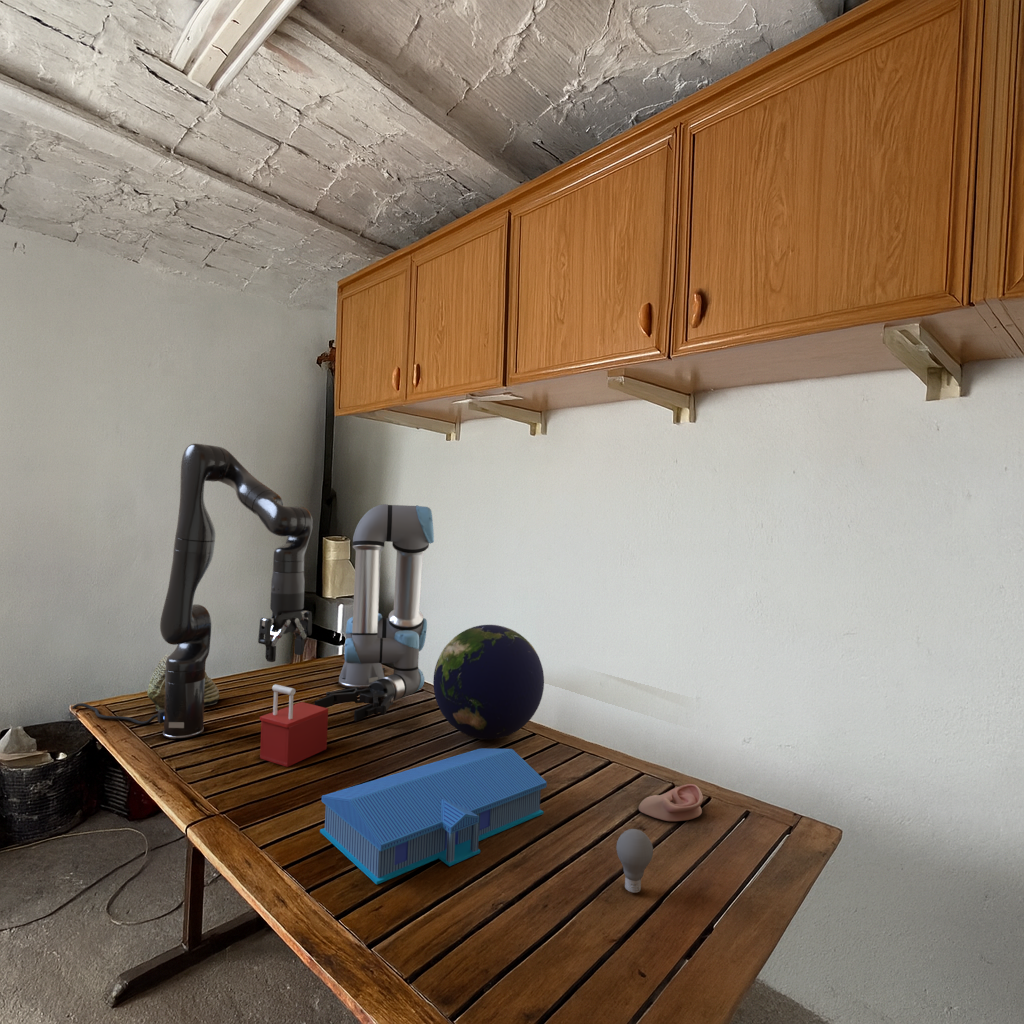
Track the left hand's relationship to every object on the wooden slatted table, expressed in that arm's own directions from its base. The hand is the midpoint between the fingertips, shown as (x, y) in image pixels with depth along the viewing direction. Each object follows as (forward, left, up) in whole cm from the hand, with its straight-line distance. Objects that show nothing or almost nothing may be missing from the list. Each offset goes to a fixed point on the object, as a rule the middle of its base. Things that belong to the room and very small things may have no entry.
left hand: (285, 657), depth 151 cm
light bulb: (+85, +23, -24) cm, 92 cm away
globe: (+18, +49, -24) cm, 58 cm away
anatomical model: (+73, +53, -24) cm, 94 cm away
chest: (-1, +4, -24) cm, 25 cm away
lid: (-1, +4, -15) cm, 16 cm away
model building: (+48, +11, -24) cm, 55 cm away
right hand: (-5, +16, -17) cm, 24 cm away
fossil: (-52, -7, -24) cm, 58 cm away
